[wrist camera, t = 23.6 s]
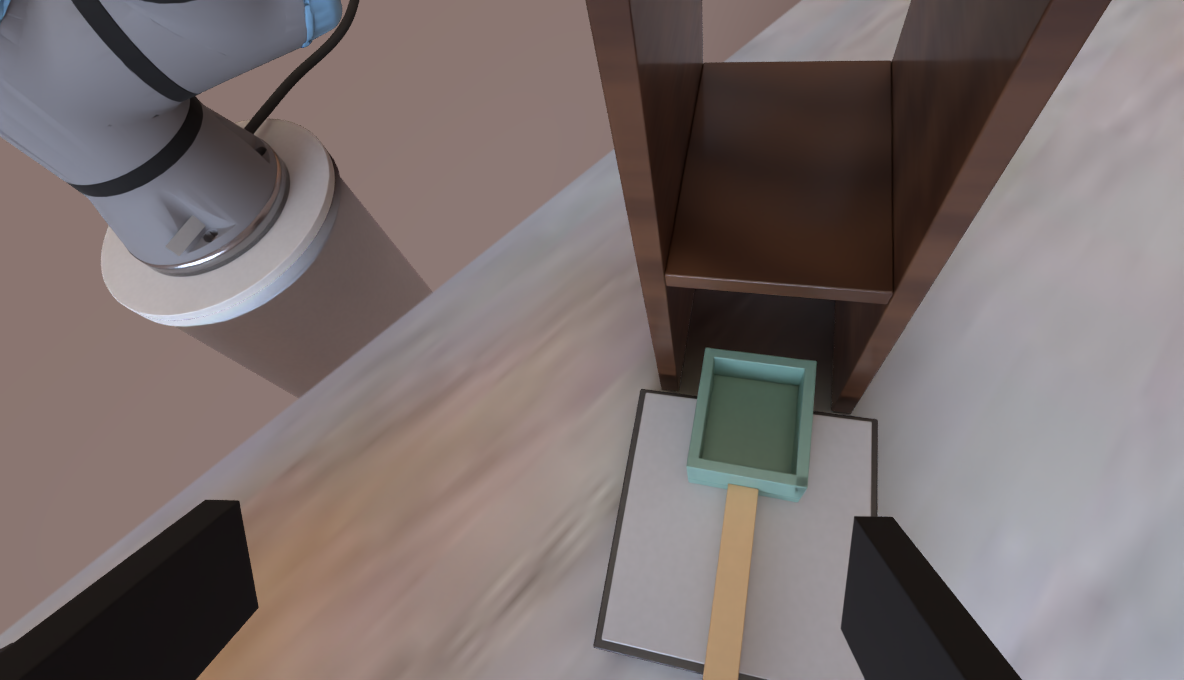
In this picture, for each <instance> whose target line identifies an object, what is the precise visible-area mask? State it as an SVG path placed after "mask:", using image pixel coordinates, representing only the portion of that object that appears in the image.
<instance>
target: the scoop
mask: <svg viewBox="0 0 1184 680" xmlns="http://www.w3.org/2000/svg"><path fill="white" fill-rule="evenodd" d="M816 368H817V361H812V360H803V359H795V358H787V357H780V356H772V355H764V354H756V353H748V352H740V351H732V350H724V349H716V348H708V347H706V348H705V353H704V359H703V365H702V372H701V378H700V384H699V390H698V396H697V403H696V409H695V415H694V421H693V427H692V433H691V440H690V446H689V452H688V458H687V464H686V468H687V475H688V482H690V483H695V484H700V485H706V486H711V487H717V488H722V489H727V496H726V504H725V511H724V519H723V527H722V534H721V542H720V550H719V558H718V565H717V573H716V581H715V588H714V596H713V604H712V611H711V619H710V627H709V634H708V642H707V650H706V658H705V665H704V673H703V680H738V677H739V667H740V658H741V649H742V640H743V630H744V621H745V612H746V603H747V593H748V584H749V575H750V566H751V556H752V547H753V538H754V529H755V519H756V510H757V501H758V495H760V496H765V497H770V498H776V499H781V500H787V501H792V502H799V500H800V499H801V497H802V496H803V494H804V493H805V491H806V490H807V488H808V476H809V463H810V449H811V436H812V422H813V409H814V395H815V382H816Z"/></svg>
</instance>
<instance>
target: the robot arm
mask: <svg viewBox="0 0 1184 680" xmlns="http://www.w3.org/2000/svg"><path fill="white" fill-rule="evenodd" d="M358 4H359V0H350V1H349V4H348V8H347V10H346V13H345V16H344V17H343V19H342V21H341V23H340V25H339V26H338V28H337V29H336V30H335V32H334V33H333V34H332V35H331V37H330V38H329V39H328V40H327V41H326V42H325V43H324V44H323V45H322V46H321V47H320V48H319V49H318V50H317V51H316V52H314V53H313V54H312V55H311V56H310V57H309V58H308V59H307V60H305V61H304V62H303V63H302V64H301V65H300V66H299V67H297V68H296V70H294V71H293V72H292V73H291V74H290V75H289V76H288V77H287V78H286V79H285V80H284V82H283V83H282V84H281V85H280V86H279V87H278V88H277V89H276V91H275V92H274V93H273V94H272V95H271V97H270V98H269V99H268V100H267V101H266V102H265V104H264V105H263V106H262V107H261V108H260V110H259V111H258V112H257V113H256V114H255V116H254V117H253V118H252V119H251V120H250V122H249V123H248V124H247V125H246V126H245V128H244V129H243V128H242V127H240V126H238V125H237V124H235V123H233V122H231V121H230V120H228V119H226V118H225V117H223V116H221V115H219V114H218V113H216V112H214V111H213V110H211V109H209V108H208V107H206V106H205V105H203V104H202V103H201V102H200V101H199V100H198V99H197V98H196V97H195V96H196V95H198V94H200V93H202V92H204V91H206V90H208V89H210V88H213V87H214V86H217V85H219V84H221V83H223V82H225V81H227V80H229V79H232V78H234V77H236V76H239V75H241V74H243V73H245V72H247V71H249V70H252V69H254V68H256V67H259V66H261V65H263V64H265V63H267V62H270V61H272V60H274V59H276V58H279V57H281V56H283V55H285V54H287V53H290V52H292V51H294V50H296V49H299V48H304V47H307V46H309V45H310V44H311V42H312V40H314V39H316V38H317V37H319V36H321V35H323V34H325V33H327V32H328V31H330V30H332V29H333V28H335V27H336V26H337V25H338V23H339V22H340V19H341V16H342V4H341V0H0V137H2V138H3V139H5V140H6V141H8V142H9V143H11V144H12V145H14V146H15V147H16V148H18V149H19V150H20V151H22V152H23V153H25V154H26V155H28V156H29V157H31V158H32V159H33V160H35V161H36V162H38V163H39V164H41V165H42V166H44V167H45V168H47V169H48V170H49V171H51V172H52V173H54V174H55V175H56V176H58V177H60V178H61V179H62V180H64V181H65V182H67V183H68V184H69V185H71V186H72V187H74V188H75V189H77V190H78V191H79V192H81V193H82V194H83V195H85V196H86V197H87V198H88V199H89V200H90V201H91V202H92V204H93V205H94V206H95V208H96V209H97V210H98V212H99V213H100V214H101V216H102V217H103V218H104V219H105V221H106V222H107V223H108V225H109V226H110V227H111V229H112V230H113V231H114V233H115V234H116V235H117V237H118V238H119V239H120V240H121V242H122V243H123V244H124V246H125V247H126V248H127V250H128V251H129V252H130V254H131V255H133V256H134V257H135V258H136V259H138V260H139V261H141V262H142V263H144V264H145V265H147V266H148V267H150V268H151V269H153V270H155V271H156V272H158V273H161V274H164V275H167V276H174V277H187V276H195V275H199V274H204V273H207V272H210V271H213V270H215V269H218V268H220V267H222V266H224V265H226V264H228V263H230V262H232V261H234V260H235V259H237V258H238V257H240V256H242V255H243V254H244V253H246V252H247V251H248V250H250V249H251V248H252V247H253V246H255V245H256V244H257V243H258V242H259V241H260V240H261V239H262V238H263V237H264V236H265V235H266V234H267V233H268V232H269V230H270V229H271V228H272V227H273V225H274V224H275V222H276V221H277V219H278V218H279V216H280V214H281V213H282V211H283V209H284V207H285V204H286V202H287V199H288V195H289V190H290V175H289V171H288V168H287V166H286V164H285V163H284V161H283V160H282V159H281V158H280V157H279V155H278V154H277V153H276V152H275V151H274V150H273V149H272V148H271V147H270V145H269V144H268V143H266V142H265V141H264V140H262V139H260V138H258V137H257V136H255V135H254V133H255V132H256V131H257V129H258V128H259V127H260V126H261V125H262V123H263V122H264V121H265V120H266V118H267V117H268V116H269V115H270V114H271V112H272V111H273V110H274V109H275V107H276V106H277V105H278V104H279V102H280V101H281V100H282V99H283V98H284V97H285V95H286V94H287V93H288V92H289V91H290V89H291V88H292V87H293V86H294V85H295V84H296V83H297V82H298V81H299V80H300V79H301V78H302V77H303V76H304V75H305V74H306V73H307V72H308V71H309V70H311V69H312V68H313V67H314V66H315V65H316V64H317V63H318V62H320V61H321V60H322V59H323V58H324V57H325V56H326V55H327V54H328V53H329V52H330V51H331V50H332V49H333V48H334V47H335V46H336V45H337V44H338V43H339V42H340V40H341V39H342V38H343V36H344V35H345V34H346V32H347V31H348V29H349V27H350V26H351V23H352V21H353V19H354V17H355V14H356V11H357V7H358ZM258 608H259V607H258V602H257V596H256V591H255V585H254V580H253V574H252V569H251V563H250V558H249V553H248V547H247V542H246V536H245V531H244V525H243V520H242V514H241V509H240V503H239V501H234V500H205V501H203V502H202V503H201V504H199V505H198V506H197V507H195V508H194V509H192V510H191V511H190V512H188V513H187V514H186V515H184V516H183V517H182V518H180V519H179V520H178V521H176V522H175V523H174V524H172V525H171V526H170V527H168V528H167V529H166V530H164V531H163V532H162V533H160V534H159V535H158V536H156V537H155V538H154V539H152V540H151V541H150V542H148V543H147V544H146V545H144V546H143V547H142V548H140V549H139V550H138V551H136V552H135V553H134V554H132V555H131V556H130V557H128V558H127V559H125V560H124V561H123V562H121V563H120V564H119V565H117V566H116V567H115V568H113V569H112V570H111V571H109V572H108V573H107V574H105V575H104V576H103V577H101V578H100V579H99V580H97V581H96V582H95V583H93V584H92V585H91V586H89V587H88V588H87V589H85V590H84V591H83V592H81V593H80V594H79V595H77V596H76V597H75V598H73V599H72V600H71V601H69V602H68V603H67V604H65V605H64V606H62V607H61V608H60V609H58V610H57V611H56V612H54V613H53V614H52V615H50V616H49V617H48V618H46V619H45V620H44V621H42V622H41V623H40V624H38V625H37V626H36V627H34V628H33V629H32V630H30V631H29V632H28V633H26V634H25V635H24V636H22V637H21V638H20V639H18V640H17V641H16V642H14V643H11V644H9V645H7V646H5V647H4V648H2V649H0V680H196V679H197V678H198V676H199V675H200V674H201V673H202V672H203V671H204V670H205V668H206V667H207V666H208V665H209V664H210V663H211V661H212V660H213V659H214V658H215V657H216V656H217V655H218V653H219V652H220V651H221V650H222V649H223V648H224V647H225V645H226V644H227V643H228V642H229V641H230V640H231V639H232V637H233V636H234V635H235V634H236V633H237V632H238V631H239V629H240V628H241V627H242V626H243V625H244V624H245V623H246V621H247V620H248V619H249V618H250V617H251V616H252V615H253V613H254V612H255V611H256V610H257V609H258ZM841 631H842V633H843V635H844V637H845V639H846V641H847V643H848V645H849V648H850V650H851V652H852V654H853V656H854V658H855V660H856V662H857V664H858V666H859V668H860V671H861V673H862V675H863V677H864V679H865V680H1022V679H1021V678H1020V677H1019V675H1018V674H1017V673H1016V672H1015V670H1014V669H1013V668H1012V667H1011V665H1010V664H1009V663H1008V662H1007V660H1006V659H1005V658H1004V657H1003V655H1002V654H1001V653H1000V652H999V650H998V649H997V648H996V647H995V645H994V644H993V643H992V642H991V640H990V639H989V638H988V636H987V635H986V634H985V633H984V631H983V630H982V629H981V628H980V626H979V625H978V624H977V623H976V621H975V620H974V619H973V618H972V616H971V615H970V614H969V613H968V611H967V610H966V609H965V608H964V606H963V605H962V604H961V603H960V601H959V600H958V599H957V597H956V596H955V595H954V594H953V592H952V591H951V590H950V589H949V587H948V586H947V585H946V584H945V582H944V581H943V580H942V579H941V577H940V576H939V575H938V574H937V572H936V571H935V570H934V569H933V567H932V566H931V565H930V564H929V562H928V561H927V560H926V558H925V557H924V556H923V555H922V553H921V552H920V551H919V550H918V548H917V547H916V546H915V545H914V543H913V542H912V541H911V540H910V538H909V537H908V536H907V535H906V533H905V532H904V531H903V530H902V528H901V527H900V526H899V525H898V523H897V522H896V521H895V519H894V518H893V517H872V516H854V521H853V530H852V538H851V546H850V555H849V563H848V571H847V579H846V588H845V596H844V604H843V612H842V621H841Z"/></svg>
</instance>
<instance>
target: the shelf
mask: <svg viewBox="0 0 1184 680" xmlns="http://www.w3.org/2000/svg"><path fill="white" fill-rule="evenodd" d="M1110 2H1111V0H911V3H910V6H909V9H908V12H907V15H906V19H905V22H904V25H903V28H902V31H901V34H900V38H899V41H898V44H897V47H896V50H895V53H894V57H893V60H892V62H891V61H812V62H723V63H703V37H702V36H703V34H702V0H586V5H587V10H588V16H589V21H590V26H591V31H592V36H593V41H594V46H595V51H596V57H597V61H598V67H599V72H600V77H601V82H602V87H603V92H604V97H605V102H606V108H607V113H608V118H609V122H610V128H611V133H612V138H613V143H614V149H615V154H616V159H617V164H618V169H619V174H620V179H621V184H622V189H623V195H624V200H625V205H626V210H627V215H628V220H629V225H630V230H631V235H632V241H633V246H634V251H635V256H636V261H637V266H638V271H639V276H640V281H641V287H642V292H643V297H644V302H645V307H646V312H647V317H648V322H649V327H650V332H651V338H652V343H653V348H654V353H655V358H656V363H657V368H658V373H659V378H660V384H661V389H662V390H670V391H677V392H678V391H679V388H680V382H681V376H682V369H683V363H684V356H685V350H686V343H687V337H688V330H689V324H690V317H691V311H692V304H693V298H694V292H695V288H697V289H709V290H721V291H733V292H745V293H757V294H769V295H781V296H793V297H805V298H816V299H828V300H835V324H834V349H833V375H832V401H831V411H834V412H841V413H849V414H850V413H852V411H853V409H854V408H855V406H856V405H857V403H858V402H859V400H860V398H861V397H862V395H863V394H864V392H865V390H866V389H867V387H868V386H869V384H870V383H871V381H872V379H873V378H874V376H875V375H876V373H877V371H878V370H879V368H880V367H881V365H882V363H883V362H884V360H885V359H886V357H887V356H888V354H889V352H890V351H891V349H892V348H893V346H894V344H895V343H896V341H897V340H898V338H899V337H900V335H901V333H902V332H903V330H904V329H905V327H906V325H907V324H908V322H909V321H910V319H911V317H912V316H913V314H914V313H915V311H916V310H917V308H918V306H919V305H920V303H921V302H922V300H923V298H924V297H925V295H926V294H927V292H928V291H929V289H930V287H931V286H932V284H933V283H934V281H935V279H936V278H937V276H938V275H939V273H940V272H941V270H942V268H943V267H944V265H945V264H946V262H947V260H948V259H949V257H950V256H951V254H952V252H953V251H954V249H955V248H956V246H957V245H958V243H959V241H960V240H961V238H962V237H963V235H964V233H965V232H966V230H967V229H968V227H969V226H970V224H971V222H972V221H973V219H974V218H975V216H976V214H977V213H978V211H979V210H980V208H981V206H982V205H983V203H984V202H985V200H986V199H987V197H988V195H989V194H990V192H991V191H992V189H993V187H994V186H995V184H996V183H997V181H998V180H999V178H1000V176H1001V175H1002V173H1003V172H1004V170H1005V168H1006V167H1007V165H1008V164H1009V162H1010V161H1011V159H1012V157H1013V156H1014V154H1015V153H1016V151H1017V149H1018V148H1019V146H1020V145H1021V143H1022V141H1023V140H1024V138H1025V137H1026V135H1027V134H1028V132H1029V130H1030V129H1031V127H1032V126H1033V124H1034V122H1035V121H1036V119H1037V118H1038V116H1039V115H1040V113H1041V111H1042V110H1043V108H1044V107H1045V105H1046V103H1047V102H1048V100H1049V99H1050V97H1051V95H1052V94H1053V92H1054V91H1055V89H1056V88H1057V86H1058V84H1059V83H1060V81H1061V80H1062V78H1063V76H1064V75H1065V73H1066V72H1067V70H1068V69H1069V67H1070V65H1071V64H1072V62H1073V61H1074V59H1075V57H1076V56H1077V54H1078V53H1079V51H1080V50H1081V48H1082V46H1083V45H1084V43H1085V42H1086V40H1087V38H1088V37H1089V35H1090V34H1091V32H1092V30H1093V29H1094V27H1095V26H1096V24H1097V23H1098V21H1099V19H1100V18H1101V16H1102V15H1103V13H1104V11H1105V10H1106V8H1107V7H1108V5H1109V4H1110Z"/></svg>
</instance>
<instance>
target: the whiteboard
mask: <svg viewBox="0 0 1184 680" xmlns="http://www.w3.org/2000/svg"><path fill="white" fill-rule="evenodd" d="M696 403H697V396H692V395H684V394H676V393H668V392H661V391H653V390H645V389H641V391H640V396H639V401H638V407H637V412H636V418H635V423H634V429H633V434H632V439H631V445H630V450H629V456H628V461H627V467H626V472H625V477H624V483H623V488H622V494H621V499H620V505H619V510H618V515H617V521H616V526H615V532H614V537H613V543H612V548H611V553H610V559H609V564H608V570H607V575H606V581H605V586H604V591H603V597H602V602H601V608H600V613H599V619H598V624H597V629H596V635H595V640H594V648H597V649H601V650H605V651H609V652H613V653H618V654H622V655H626V656H630V657H634V658H638V659H642V660H646V661H650V662H654V663H658V664H662V665H666V666H670V667H674V668H678V669H682V670H687V671H691V672H695V673H699V674H703V673H704V665H705V658H706V650H707V642H708V634H709V627H710V619H711V611H712V604H713V596H714V588H715V581H716V573H717V565H718V558H719V550H720V542H721V534H722V527H723V519H724V511H725V504H726V496H727V489H722V488H717V487H711V486H706V485H700V484H695V483H690V482H688V475H687V468H686V464H687V458H688V452H689V446H690V440H691V433H692V427H693V421H694V415H695V409H696ZM877 466H878V421H877V420H876V419H869V418H861V417H854V416H846V415H838V414H831V413H823V412H815V411H813V422H812V436H811V449H810V463H809V476H808V488H807V490H806V491H805V493H804V494H803V496H802V497H801V499H800V500H799V502H792V501H787V500H781V499H776V498H770V497H765V496H760V495H758V501H757V510H756V519H755V529H754V538H753V547H752V556H751V566H750V575H749V584H748V593H747V603H746V612H745V621H744V630H743V640H742V649H741V658H740V667H739V677H738V680H865V679H864V677H863V675H862V673H861V671H860V668H859V666H858V664H857V662H856V660H855V658H854V656H853V654H852V652H851V650H850V648H849V645H848V643H847V641H846V639H845V637H844V635H843V633H842V631H841V621H842V612H843V604H844V596H845V588H846V579H847V571H848V563H849V555H850V546H851V538H852V530H853V521H854V516H872V517H877Z"/></svg>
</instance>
